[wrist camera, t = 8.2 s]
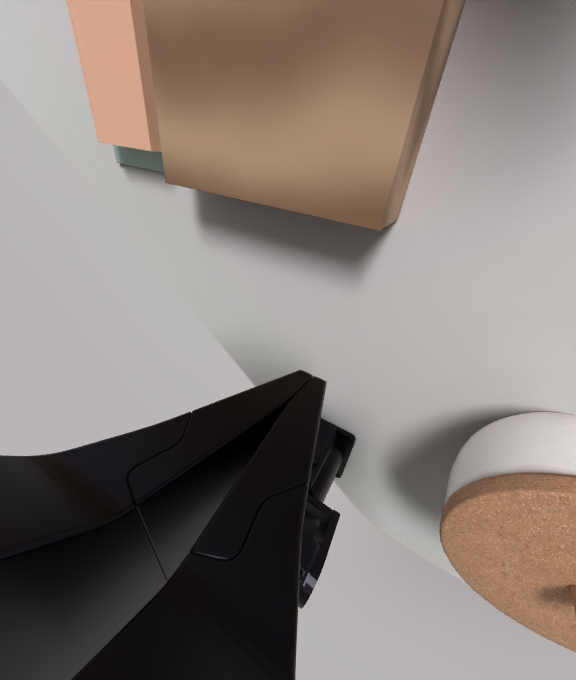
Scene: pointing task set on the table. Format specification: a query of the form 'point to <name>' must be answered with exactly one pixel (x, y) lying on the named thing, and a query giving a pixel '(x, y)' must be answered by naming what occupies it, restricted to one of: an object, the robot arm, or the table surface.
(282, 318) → the table surface
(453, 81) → the table surface
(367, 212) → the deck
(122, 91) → the peach upright slab
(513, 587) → the lidded jar
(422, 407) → the table surface
